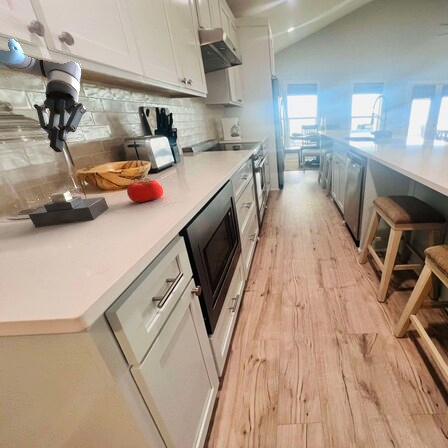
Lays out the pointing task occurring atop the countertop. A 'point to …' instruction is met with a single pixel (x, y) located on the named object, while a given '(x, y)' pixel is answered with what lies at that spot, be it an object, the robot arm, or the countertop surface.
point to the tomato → (144, 191)
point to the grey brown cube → (61, 197)
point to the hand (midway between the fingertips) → (56, 149)
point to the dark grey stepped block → (69, 211)
